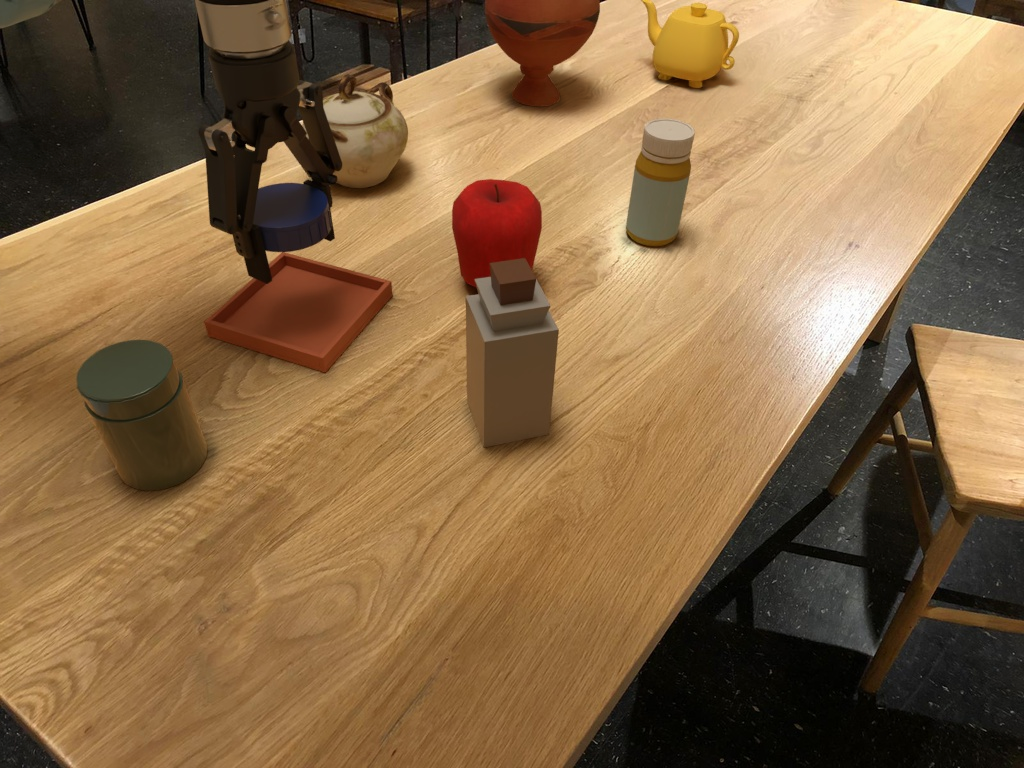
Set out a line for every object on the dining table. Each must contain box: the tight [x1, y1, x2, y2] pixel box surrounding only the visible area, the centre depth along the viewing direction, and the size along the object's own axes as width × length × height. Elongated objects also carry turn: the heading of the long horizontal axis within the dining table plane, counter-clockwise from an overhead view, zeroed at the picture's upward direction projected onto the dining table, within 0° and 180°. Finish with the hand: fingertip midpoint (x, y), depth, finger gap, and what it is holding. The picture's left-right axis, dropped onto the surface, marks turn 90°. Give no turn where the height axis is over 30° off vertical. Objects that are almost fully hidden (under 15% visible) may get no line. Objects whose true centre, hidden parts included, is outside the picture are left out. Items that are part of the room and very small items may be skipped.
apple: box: [451, 178, 543, 289], centre depth 90 cm, size 11×10×14 cm
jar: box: [76, 339, 208, 492], centre depth 69 cm, size 8×8×12 cm
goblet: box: [484, 0, 601, 108], centre depth 128 cm, size 19×19×25 cm
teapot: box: [640, 0, 740, 89], centre depth 142 cm, size 14×20×13 cm
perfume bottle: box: [465, 258, 560, 448], centre depth 72 cm, size 7×7×18 cm
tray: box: [203, 252, 394, 373], centre depth 88 cm, size 15×15×2 cm
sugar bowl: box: [301, 73, 409, 189], centre depth 109 cm, size 20×15×15 cm
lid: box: [239, 182, 333, 253], centre depth 80 cm, size 9×9×3 cm
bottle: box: [625, 118, 695, 248], centre depth 99 cm, size 7×7×15 cm
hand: (293, 256), depth 83 cm, fingers closed on lid, 9 cm apart
